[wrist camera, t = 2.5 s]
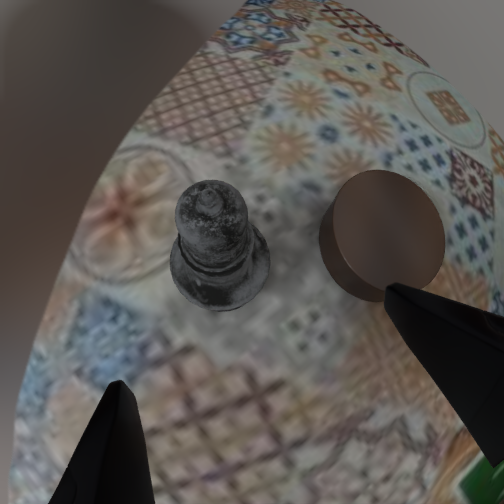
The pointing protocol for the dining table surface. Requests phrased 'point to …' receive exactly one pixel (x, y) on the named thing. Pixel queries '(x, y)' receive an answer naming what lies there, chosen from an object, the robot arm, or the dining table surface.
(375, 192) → the walnut puck
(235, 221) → the grey stone chess piece
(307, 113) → the dining table surface
